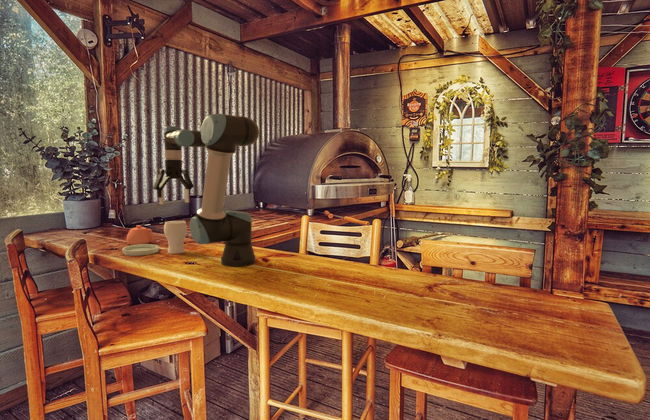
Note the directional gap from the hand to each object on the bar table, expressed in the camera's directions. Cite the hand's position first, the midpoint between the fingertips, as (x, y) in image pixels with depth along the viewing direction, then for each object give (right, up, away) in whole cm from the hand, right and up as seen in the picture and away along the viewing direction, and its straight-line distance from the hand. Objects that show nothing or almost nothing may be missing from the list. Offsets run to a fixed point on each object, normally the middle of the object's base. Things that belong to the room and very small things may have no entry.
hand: (174, 203), depth 190 cm
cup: (0, -24, +3) cm, 24 cm away
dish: (-17, -24, +2) cm, 30 cm away
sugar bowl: (-25, -22, +19) cm, 39 cm away
